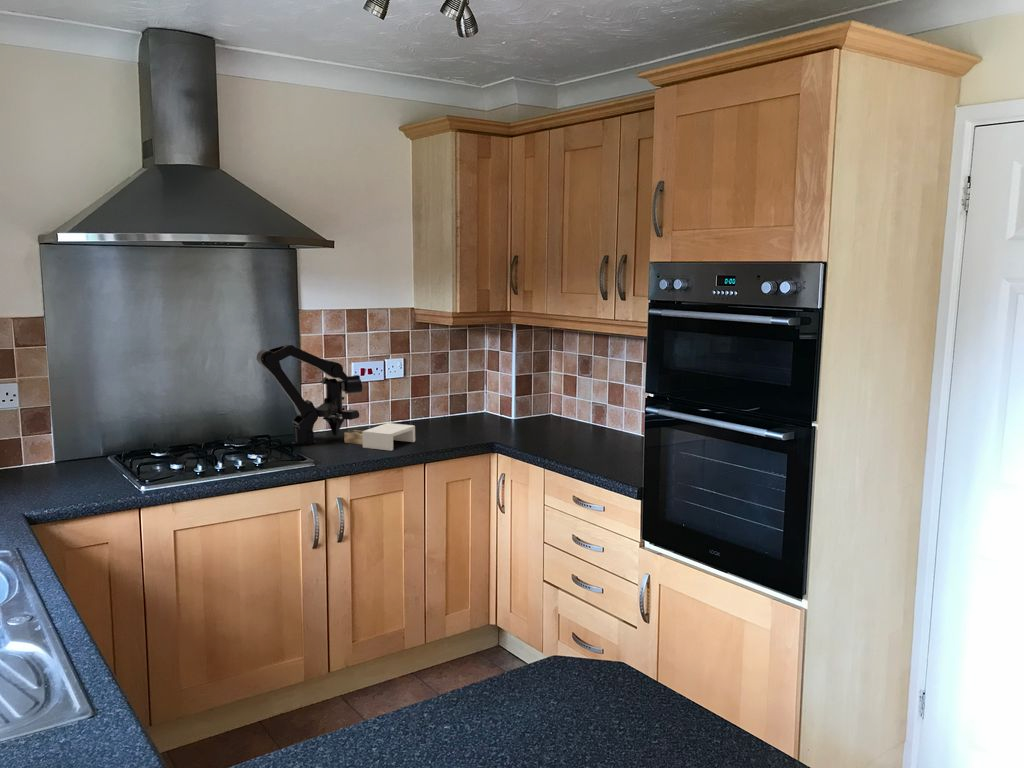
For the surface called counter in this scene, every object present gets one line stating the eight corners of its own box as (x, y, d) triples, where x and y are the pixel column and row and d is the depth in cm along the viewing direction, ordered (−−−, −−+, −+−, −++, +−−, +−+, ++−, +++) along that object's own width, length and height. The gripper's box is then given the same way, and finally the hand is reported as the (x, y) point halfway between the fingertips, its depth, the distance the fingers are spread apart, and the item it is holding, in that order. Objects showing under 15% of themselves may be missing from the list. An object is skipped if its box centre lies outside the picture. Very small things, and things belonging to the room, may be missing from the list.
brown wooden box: (344, 443, 311) (344, 432, 311) (353, 440, 316) (353, 429, 315) (366, 445, 307) (365, 435, 306) (375, 442, 311) (374, 432, 311)
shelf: (362, 447, 302) (362, 431, 302) (388, 438, 318) (387, 423, 317) (390, 450, 298) (390, 434, 297) (415, 441, 313) (415, 425, 312)
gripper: (300, 396, 310) (301, 437, 312) (342, 399, 302) (343, 441, 304) (318, 392, 320) (320, 431, 322) (359, 395, 312) (360, 436, 314)
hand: (335, 435), depth 315 cm, fingers closed
